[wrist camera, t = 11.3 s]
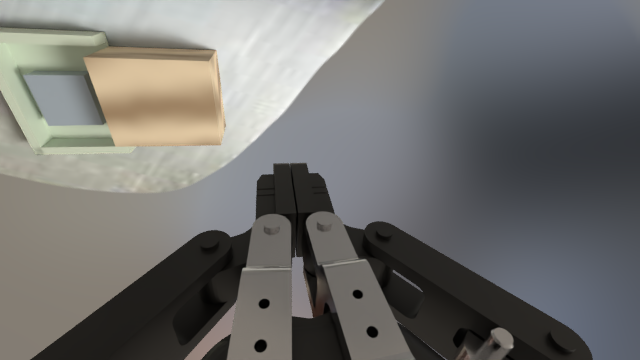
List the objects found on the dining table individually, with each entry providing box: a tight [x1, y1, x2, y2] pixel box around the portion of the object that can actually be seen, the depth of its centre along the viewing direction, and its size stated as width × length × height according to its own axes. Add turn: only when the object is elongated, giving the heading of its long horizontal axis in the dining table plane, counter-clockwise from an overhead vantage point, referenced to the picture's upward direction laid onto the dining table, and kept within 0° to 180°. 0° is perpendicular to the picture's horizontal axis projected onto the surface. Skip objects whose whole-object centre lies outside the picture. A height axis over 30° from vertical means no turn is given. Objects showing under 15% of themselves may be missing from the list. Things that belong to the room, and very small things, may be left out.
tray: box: [0, 27, 136, 155], centre depth 35 cm, size 14×11×3 cm
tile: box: [23, 71, 106, 126], centre depth 35 cm, size 6×6×2 cm
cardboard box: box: [83, 46, 226, 147], centre depth 35 cm, size 10×12×6 cm
